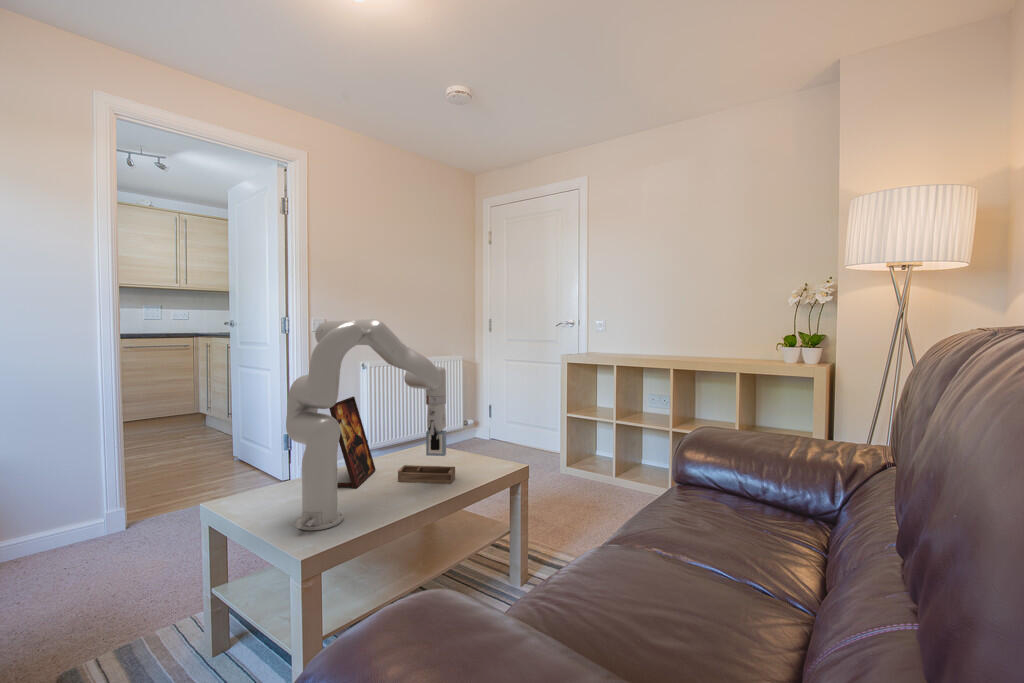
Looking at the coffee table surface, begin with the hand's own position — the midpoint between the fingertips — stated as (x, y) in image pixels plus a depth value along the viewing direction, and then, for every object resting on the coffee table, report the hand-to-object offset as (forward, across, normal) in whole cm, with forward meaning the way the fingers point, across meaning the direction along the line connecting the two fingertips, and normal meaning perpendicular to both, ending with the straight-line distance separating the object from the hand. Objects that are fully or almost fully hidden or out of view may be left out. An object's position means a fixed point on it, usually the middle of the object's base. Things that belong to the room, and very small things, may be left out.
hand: (436, 448), depth 173 cm
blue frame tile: (+2, 0, 0) cm, 2 cm away
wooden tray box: (+12, 0, +4) cm, 12 cm away
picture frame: (+12, -2, +32) cm, 34 cm away
